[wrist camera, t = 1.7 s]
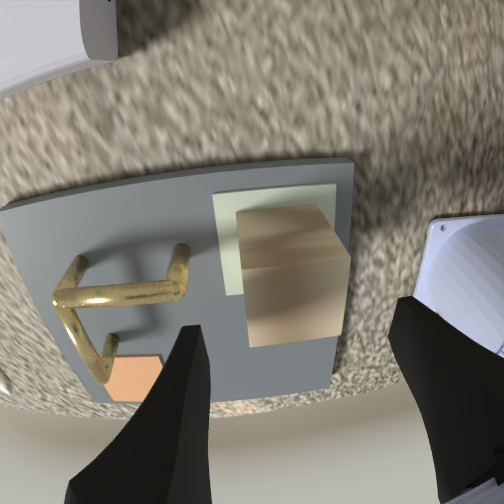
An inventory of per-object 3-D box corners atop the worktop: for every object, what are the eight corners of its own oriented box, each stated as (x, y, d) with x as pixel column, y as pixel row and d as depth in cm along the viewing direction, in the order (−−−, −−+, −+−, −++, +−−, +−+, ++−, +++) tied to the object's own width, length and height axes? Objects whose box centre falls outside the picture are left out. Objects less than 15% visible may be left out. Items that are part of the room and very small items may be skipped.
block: (316, 204, 16) (351, 257, 11) (314, 271, 18) (341, 334, 14) (235, 211, 16) (241, 269, 11) (242, 279, 18) (249, 347, 13)
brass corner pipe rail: (189, 242, 16) (182, 287, 13) (209, 338, 20) (208, 386, 17) (71, 256, 16) (44, 297, 13) (109, 343, 20) (96, 387, 17)
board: (346, 156, 16) (355, 164, 15) (325, 376, 25) (329, 389, 24) (6, 204, 15) (-6, 213, 14) (98, 391, 25) (94, 404, 23)
